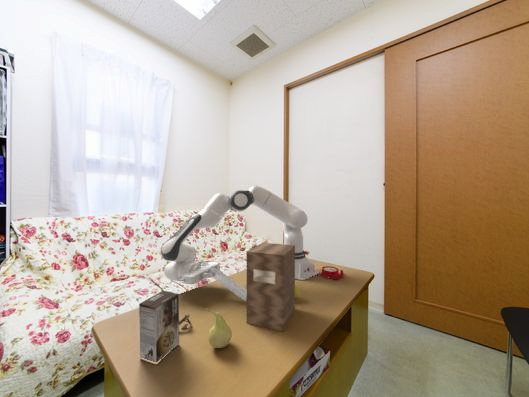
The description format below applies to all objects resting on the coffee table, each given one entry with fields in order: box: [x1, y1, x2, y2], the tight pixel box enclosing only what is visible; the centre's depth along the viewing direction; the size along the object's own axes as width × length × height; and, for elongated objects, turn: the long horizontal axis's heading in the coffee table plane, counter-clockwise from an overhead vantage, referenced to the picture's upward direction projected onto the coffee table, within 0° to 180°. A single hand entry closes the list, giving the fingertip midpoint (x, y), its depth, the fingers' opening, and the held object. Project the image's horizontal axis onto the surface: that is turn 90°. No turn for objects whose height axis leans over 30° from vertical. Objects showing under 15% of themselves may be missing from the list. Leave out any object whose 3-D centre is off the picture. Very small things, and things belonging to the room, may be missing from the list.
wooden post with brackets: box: [179, 313, 192, 330], centre depth 75 cm, size 2×8×4 cm, turn 127°
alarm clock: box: [320, 265, 347, 280], centre depth 125 cm, size 10×6×15 cm
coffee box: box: [138, 290, 180, 362], centre depth 64 cm, size 9×6×16 cm
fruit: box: [206, 308, 233, 349], centre depth 67 cm, size 7×8×12 cm
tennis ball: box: [295, 284, 299, 299], centre depth 98 cm, size 7×7×7 cm
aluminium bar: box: [207, 266, 247, 302], centre depth 98 cm, size 22×3×3 cm, turn 67°
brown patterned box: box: [246, 242, 296, 332], centre depth 84 cm, size 14×17×26 cm
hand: (216, 273), depth 100 cm, fingers closed on aluminium bar, 3 cm apart
